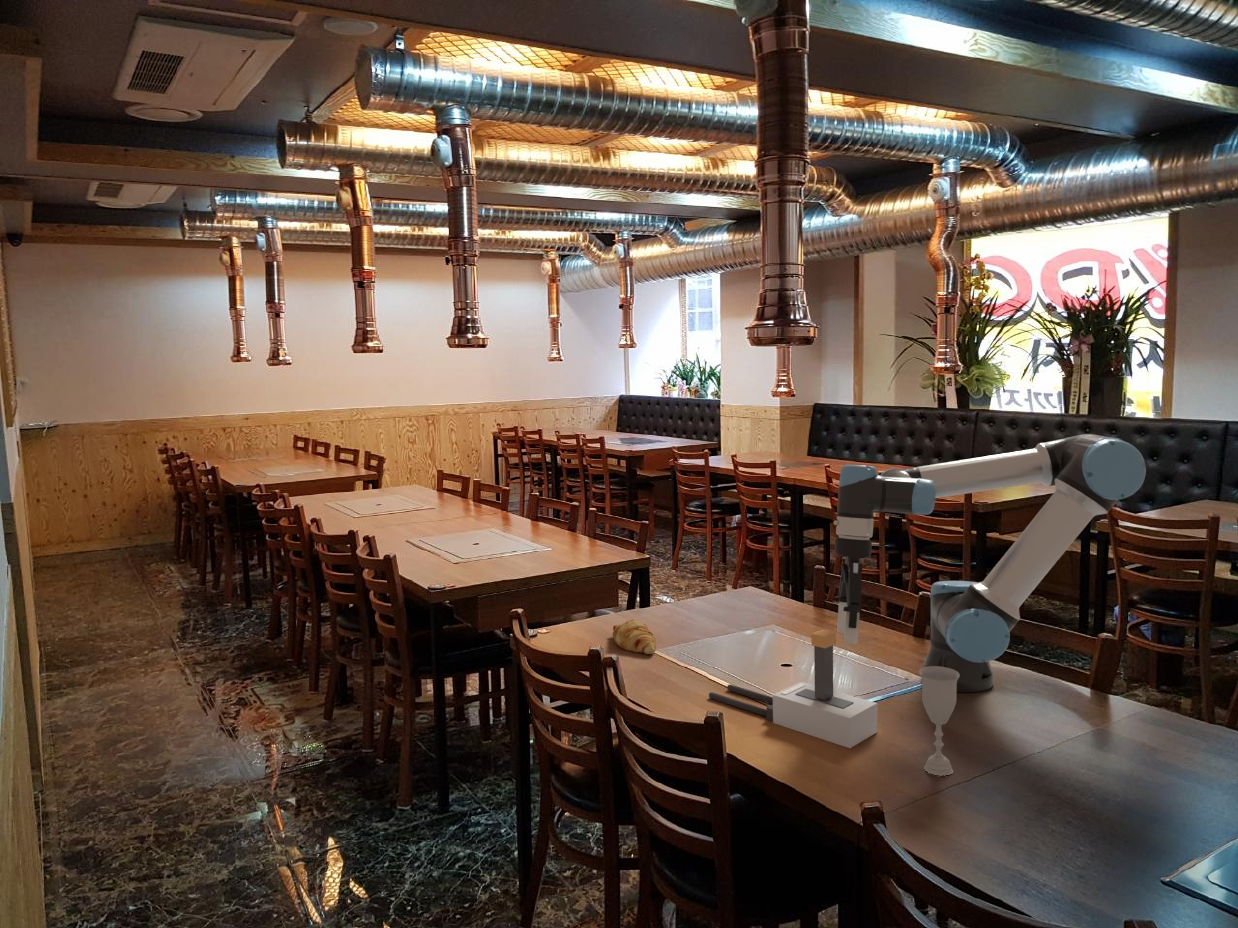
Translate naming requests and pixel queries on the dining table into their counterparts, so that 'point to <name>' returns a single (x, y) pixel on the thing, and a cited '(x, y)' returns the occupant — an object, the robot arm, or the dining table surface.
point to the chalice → (939, 710)
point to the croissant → (634, 637)
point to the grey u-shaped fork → (745, 706)
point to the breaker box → (825, 715)
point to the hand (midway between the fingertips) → (846, 637)
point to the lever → (823, 662)
